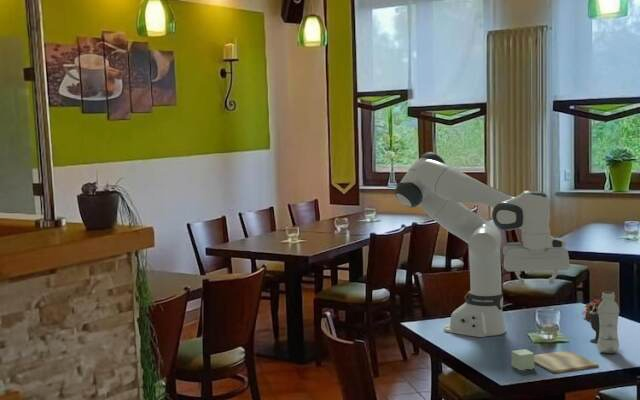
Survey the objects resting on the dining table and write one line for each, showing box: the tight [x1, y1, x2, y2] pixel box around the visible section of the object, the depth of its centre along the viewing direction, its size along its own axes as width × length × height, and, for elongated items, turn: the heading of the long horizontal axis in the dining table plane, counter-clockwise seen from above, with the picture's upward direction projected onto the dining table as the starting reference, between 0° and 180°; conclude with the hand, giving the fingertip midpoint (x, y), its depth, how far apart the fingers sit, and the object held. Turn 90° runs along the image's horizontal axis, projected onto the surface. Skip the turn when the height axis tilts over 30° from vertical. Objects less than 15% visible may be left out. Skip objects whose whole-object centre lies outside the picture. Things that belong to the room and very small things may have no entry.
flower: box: [581, 298, 603, 320], centre depth 296 cm, size 10×9×8 cm
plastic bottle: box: [596, 291, 620, 354], centre depth 253 cm, size 6×7×20 cm
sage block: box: [510, 348, 535, 371], centre depth 242 cm, size 5×5×5 cm
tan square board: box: [534, 349, 600, 374], centre depth 246 cm, size 16×16×1 cm
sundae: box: [588, 298, 603, 344], centre depth 266 cm, size 7×7×15 cm
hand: (536, 284), depth 248 cm, fingers open, 8 cm apart
